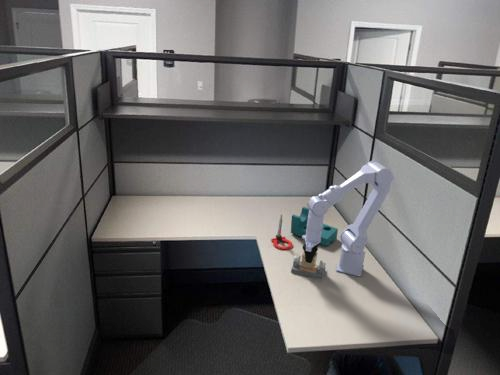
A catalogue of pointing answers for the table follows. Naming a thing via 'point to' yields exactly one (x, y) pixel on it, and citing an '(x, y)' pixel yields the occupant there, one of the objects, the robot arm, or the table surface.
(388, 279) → the table surface
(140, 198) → the table surface
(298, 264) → the stand
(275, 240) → the tow hook
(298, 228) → the teal l-shaped bracket
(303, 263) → the coupling block
